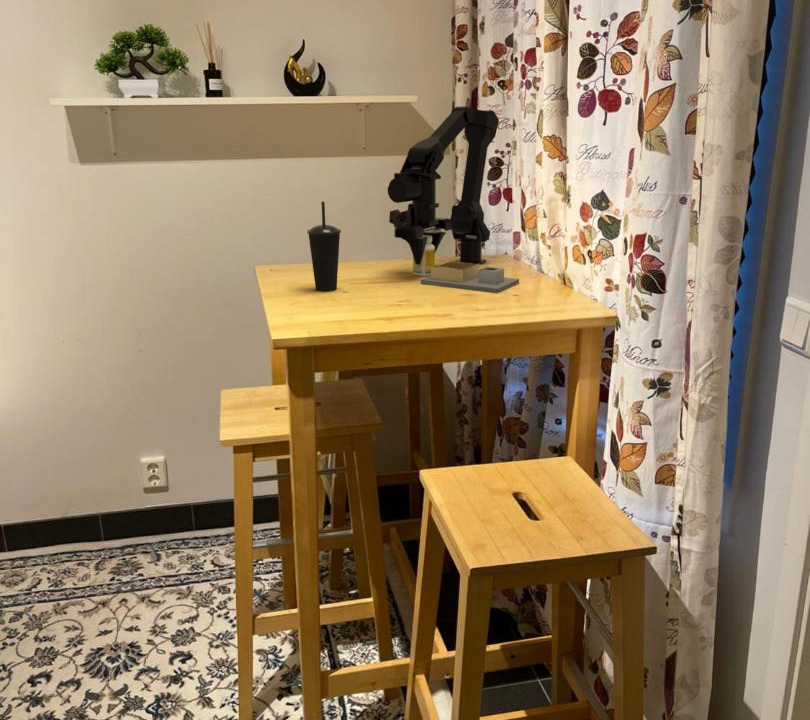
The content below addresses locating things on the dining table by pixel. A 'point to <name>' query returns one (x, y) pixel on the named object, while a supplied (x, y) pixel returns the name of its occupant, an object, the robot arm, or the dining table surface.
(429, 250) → the supplement bottle
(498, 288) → the fitting board
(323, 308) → the dining table surface
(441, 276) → the square wooden frame
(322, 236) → the drinking cup
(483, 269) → the steel collar
